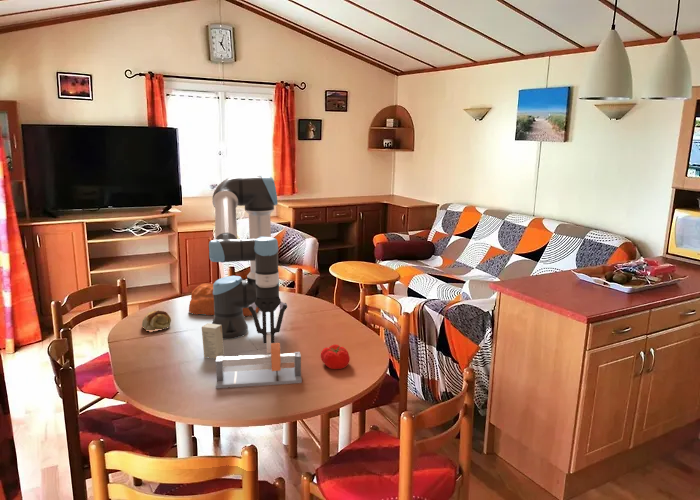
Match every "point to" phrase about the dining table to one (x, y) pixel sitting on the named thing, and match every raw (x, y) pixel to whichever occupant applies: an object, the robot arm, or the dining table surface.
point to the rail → (256, 362)
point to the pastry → (156, 320)
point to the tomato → (335, 357)
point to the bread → (207, 301)
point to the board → (258, 378)
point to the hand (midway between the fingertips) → (269, 351)
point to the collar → (275, 357)
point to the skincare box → (212, 340)
